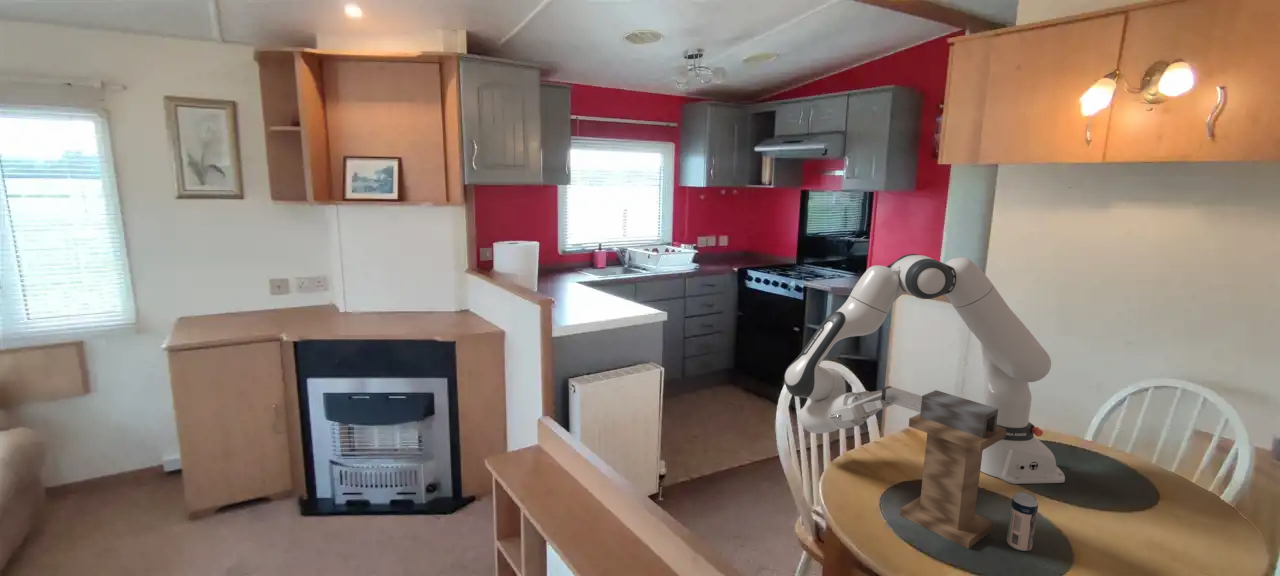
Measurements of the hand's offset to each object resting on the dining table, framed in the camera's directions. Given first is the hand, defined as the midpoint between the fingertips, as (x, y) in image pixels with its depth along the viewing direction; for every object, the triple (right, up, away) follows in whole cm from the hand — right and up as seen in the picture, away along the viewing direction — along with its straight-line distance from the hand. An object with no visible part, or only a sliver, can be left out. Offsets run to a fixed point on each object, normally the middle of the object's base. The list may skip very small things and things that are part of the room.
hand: (893, 398), depth 149 cm
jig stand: (+9, -28, -7) cm, 30 cm away
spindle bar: (+5, -2, -7) cm, 9 cm away
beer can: (+21, -30, -16) cm, 40 cm away
